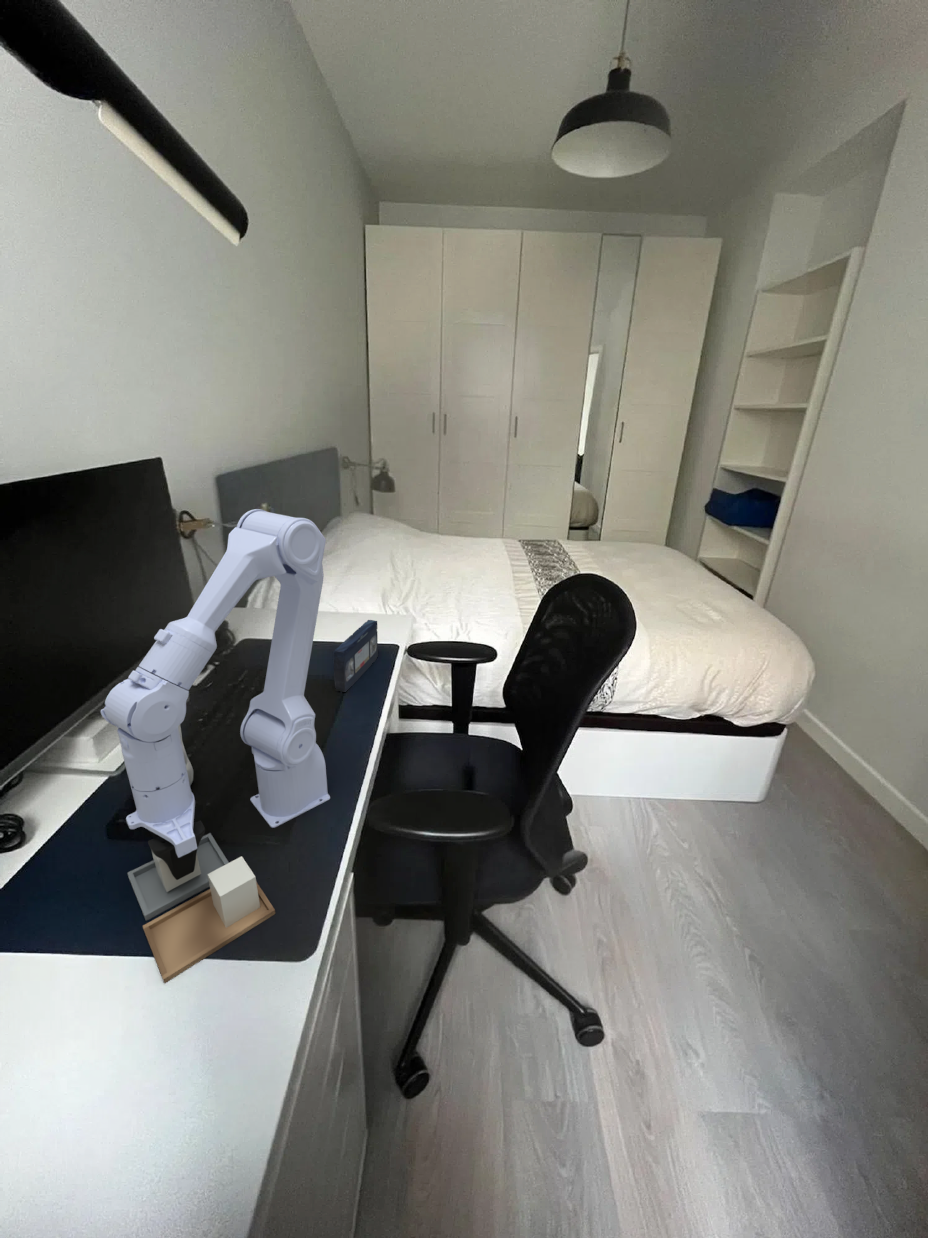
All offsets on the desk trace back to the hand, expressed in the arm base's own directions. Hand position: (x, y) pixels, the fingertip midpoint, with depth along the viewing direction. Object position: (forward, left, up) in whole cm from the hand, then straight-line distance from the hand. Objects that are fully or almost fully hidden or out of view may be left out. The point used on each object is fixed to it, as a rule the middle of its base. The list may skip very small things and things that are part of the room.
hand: (178, 862), depth 64 cm
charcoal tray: (0, 0, -3) cm, 3 cm away
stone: (-3, +9, -2) cm, 10 cm away
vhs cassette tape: (-47, -33, -3) cm, 58 cm away
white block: (0, 0, -2) cm, 2 cm away
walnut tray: (0, +9, -3) cm, 9 cm away
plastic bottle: (-4, -18, -3) cm, 19 cm away
